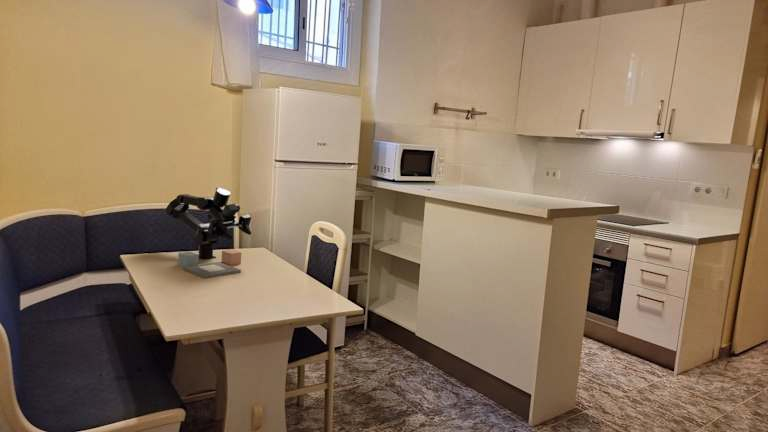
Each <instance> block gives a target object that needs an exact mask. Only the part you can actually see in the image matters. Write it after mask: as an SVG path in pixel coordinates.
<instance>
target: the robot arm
mask: <svg viewBox="0 0 768 432" xmlns="http://www.w3.org/2000/svg"><path fill="white" fill-rule="evenodd" d="M230 197H231V192H230V191H229V190H227V189H224V188H221V187H216V188H215V192H214V195H213V196H205V197H203V196H201V197H200V196H195V195H190V194H187V193H185V194H178V195H177V196H176V198H174V199H173V200H172V201H169V203H168V205H167V207H166V208H165V212H166V214H167V216H168V217H170V218H172V219H175V220H179V221H181V222H182V223H183V224H184V225H186V226H187V227H188V228H190V229H191V230H192V231H194V232H195V233H196V236H194V238H193V243H194V245H197V246H198V255H199V258H198V259H200V260H210V259H216V256H215V255H214V246H213V245H215V244H218V242H219V237H221V238H226V239H230V240H232V239H233V235H232V234H231V232H229V231H228V229H229V230H230V229H232V228H238V230H240V232H242V233H244V234H247V235H249V236H251V235H252V231H251V229H250V224H251V219H252V217H251V216H250V215H249V214H244V215H240V216H239V218H238V219H239V220H235V219H236V218H237V216H236V214H237V213H238V212H239V211H240V210H241V207H240V205H239V204H238V203H230V204H229V203H228V202H229V199H230ZM190 206H192V207H193V206H195V207H197V209H198V210H200V211H204V212H205V211H207V219H208V220H210V222H209V223H203V222H201V221H200V220H199V219H198V218H196V217H195V216H194V215H193V214H191V213H190V212H189V211H188V210H189V209H190ZM212 219H213V220H212Z"/></svg>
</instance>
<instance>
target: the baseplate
mask: <svg viewBox="0 0 768 432" xmlns="http://www.w3.org/2000/svg"><path fill="white" fill-rule="evenodd" d="M182 270H184V271H185V272H188V273H190V274H193V275H195V276H197V277H201V278H203V279H208V278H214V277H220V276H226V275H231V274H232V275H233V274H238V273H239V274H240V273H241V271H242V270H241V269H240V268H237V267H234V266H232V265H229V264H227V263H224V262H220V261H216V262H209V263H203V264H198V265H194V266H186V267H183V266H182Z"/></svg>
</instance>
